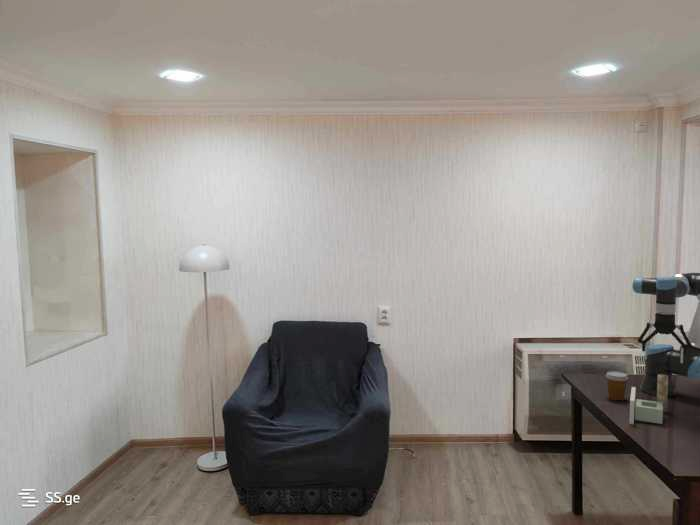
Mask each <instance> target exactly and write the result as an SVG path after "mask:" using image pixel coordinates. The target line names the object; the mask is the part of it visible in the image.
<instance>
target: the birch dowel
mask: <svg viewBox="0 0 700 525" xmlns="http://www.w3.org/2000/svg"><path fill="white" fill-rule="evenodd" d="M668 397H669V396H668V376H667V375H664V374H658V381H657V395H656V402H662V403H663V413H667V412H668Z"/></svg>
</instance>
